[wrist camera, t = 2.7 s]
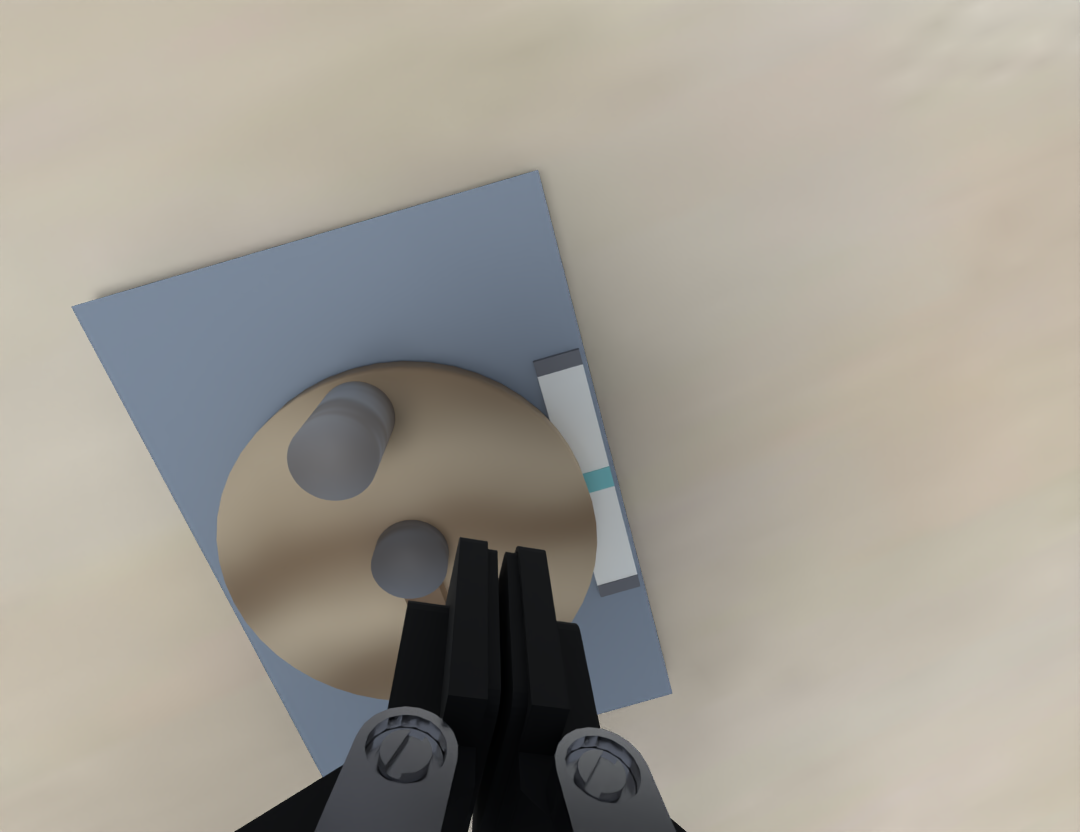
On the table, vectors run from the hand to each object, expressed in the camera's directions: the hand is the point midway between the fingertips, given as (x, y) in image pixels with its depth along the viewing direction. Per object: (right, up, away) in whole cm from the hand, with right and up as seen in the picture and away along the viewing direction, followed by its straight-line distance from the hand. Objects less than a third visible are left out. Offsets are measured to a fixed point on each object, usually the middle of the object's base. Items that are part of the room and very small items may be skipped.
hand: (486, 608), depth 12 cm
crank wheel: (-4, -1, +14) cm, 15 cm away
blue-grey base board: (-4, -1, +15) cm, 16 cm away
